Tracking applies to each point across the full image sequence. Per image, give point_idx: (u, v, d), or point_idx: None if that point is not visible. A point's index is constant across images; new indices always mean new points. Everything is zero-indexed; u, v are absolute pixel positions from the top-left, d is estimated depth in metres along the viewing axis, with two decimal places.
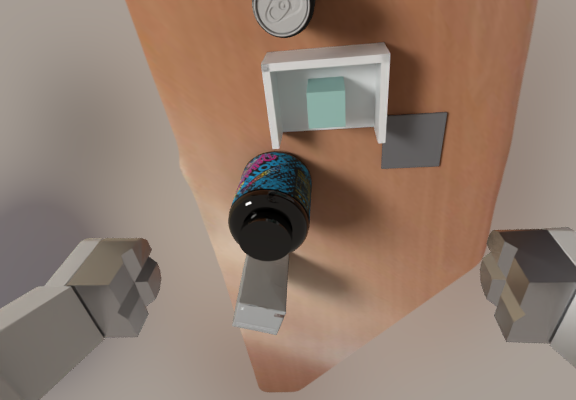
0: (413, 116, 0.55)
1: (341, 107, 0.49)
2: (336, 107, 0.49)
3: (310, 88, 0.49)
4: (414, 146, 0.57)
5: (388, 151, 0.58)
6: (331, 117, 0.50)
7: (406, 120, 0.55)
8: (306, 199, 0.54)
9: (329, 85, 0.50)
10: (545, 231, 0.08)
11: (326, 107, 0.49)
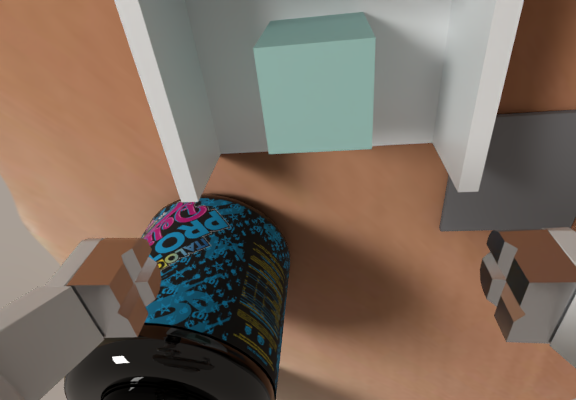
0: (533, 117, 0.22)
1: (363, 95, 0.16)
2: (348, 92, 0.16)
3: (270, 37, 0.17)
4: (524, 186, 0.25)
5: (460, 197, 0.26)
6: (330, 123, 0.17)
7: (514, 128, 0.23)
8: (269, 326, 0.22)
9: (325, 28, 0.17)
10: (545, 231, 0.08)
11: (317, 92, 0.16)
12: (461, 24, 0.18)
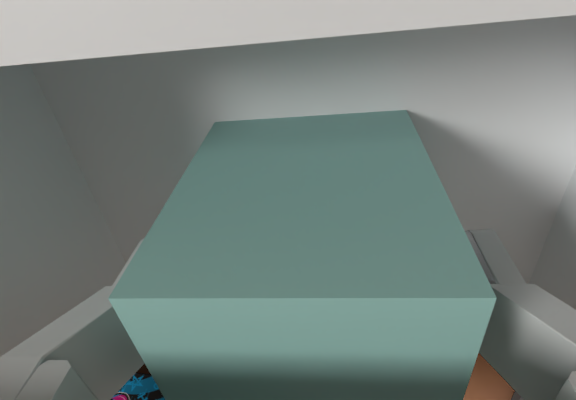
0: None
1: (433, 396, 0.06)
2: (391, 389, 0.06)
3: (185, 213, 0.07)
4: None
5: None
6: None
7: None
8: None
9: (329, 186, 0.07)
10: (468, 232, 0.08)
11: (306, 384, 0.06)
12: None
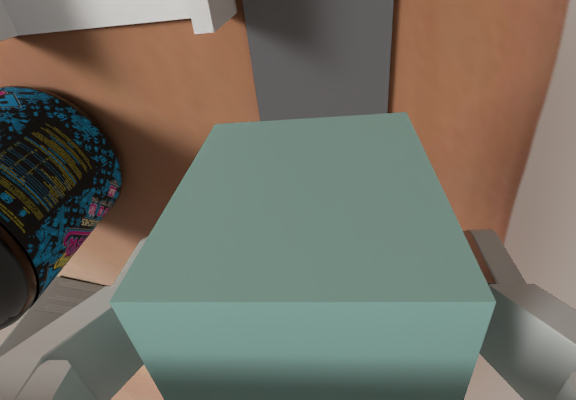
0: None
1: (432, 399, 0.06)
2: (391, 392, 0.06)
3: (186, 216, 0.07)
4: (326, 67, 0.24)
5: (268, 82, 0.25)
6: None
7: None
8: (32, 193, 0.21)
9: (329, 189, 0.07)
10: (468, 232, 0.08)
11: (307, 387, 0.06)
12: None
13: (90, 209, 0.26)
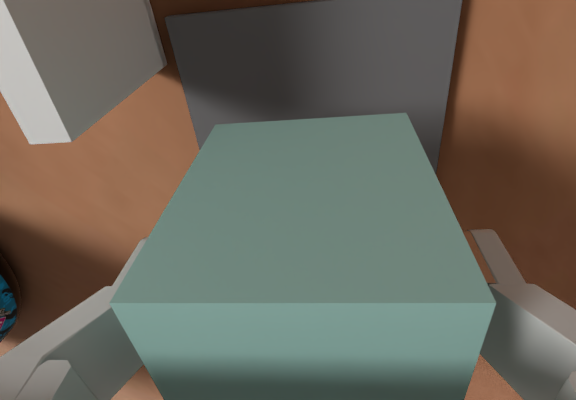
0: (296, 9, 0.11)
1: None
2: (391, 393, 0.06)
3: (186, 217, 0.07)
4: None
5: None
6: None
7: (269, 36, 0.12)
8: None
9: (329, 190, 0.07)
10: (468, 232, 0.08)
11: (307, 388, 0.06)
12: None
13: None
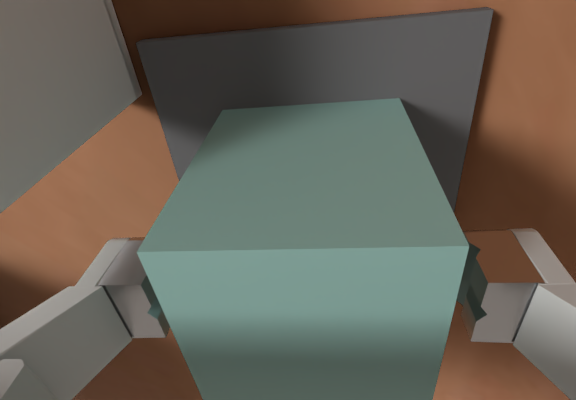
0: (291, 34, 0.09)
1: (418, 343, 0.07)
2: (382, 338, 0.07)
3: (200, 185, 0.07)
4: None
5: None
6: (337, 378, 0.07)
7: (260, 64, 0.10)
8: None
9: (327, 162, 0.08)
10: (509, 231, 0.08)
11: (308, 333, 0.07)
12: None
13: None
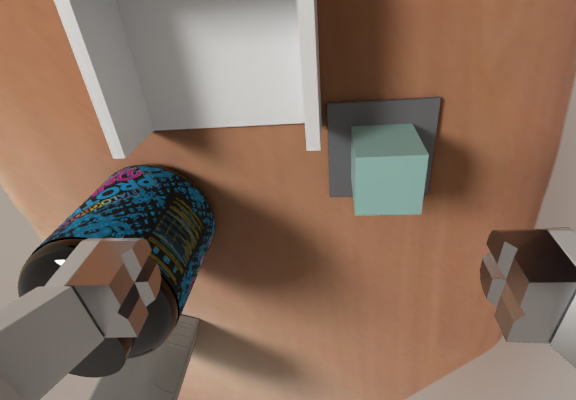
0: (378, 103, 0.30)
1: (418, 184, 0.27)
2: (409, 182, 0.27)
3: (360, 146, 0.28)
4: None
5: (339, 167, 0.33)
6: (396, 198, 0.28)
7: (367, 112, 0.30)
8: (177, 254, 0.29)
9: (394, 141, 0.28)
10: (545, 231, 0.08)
11: (391, 181, 0.27)
12: None
13: (201, 260, 0.34)
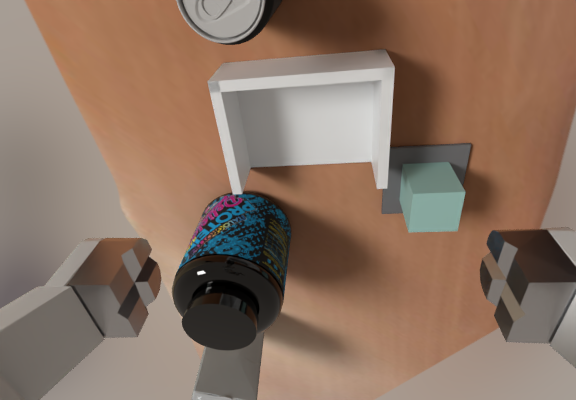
0: (424, 148, 0.40)
1: (456, 211, 0.38)
2: (450, 209, 0.38)
3: (414, 183, 0.38)
4: None
5: (391, 192, 0.44)
6: (440, 220, 0.38)
7: (415, 154, 0.41)
8: (279, 262, 0.40)
9: (437, 178, 0.39)
10: (545, 231, 0.08)
11: (437, 209, 0.38)
12: (375, 106, 0.36)
13: None
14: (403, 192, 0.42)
